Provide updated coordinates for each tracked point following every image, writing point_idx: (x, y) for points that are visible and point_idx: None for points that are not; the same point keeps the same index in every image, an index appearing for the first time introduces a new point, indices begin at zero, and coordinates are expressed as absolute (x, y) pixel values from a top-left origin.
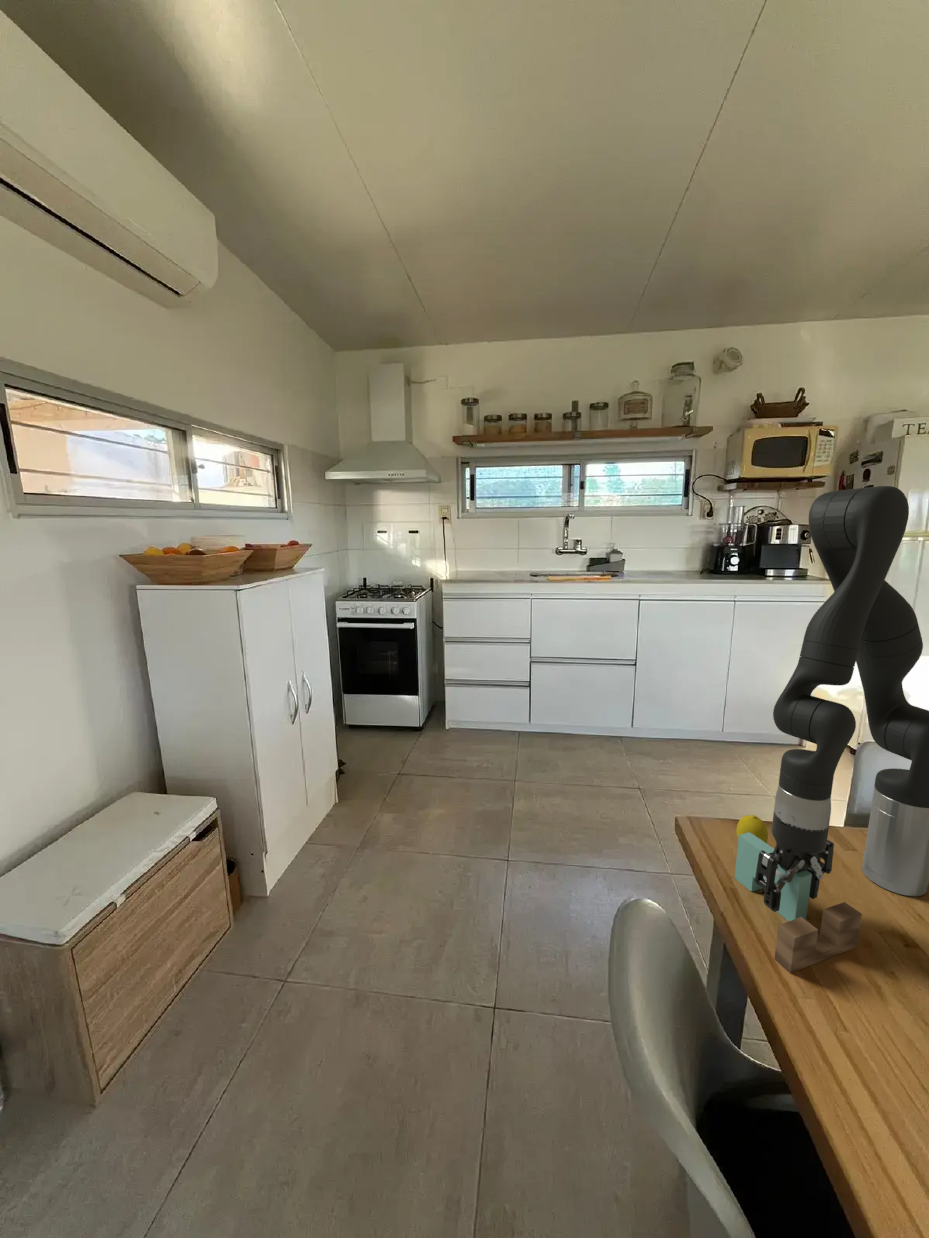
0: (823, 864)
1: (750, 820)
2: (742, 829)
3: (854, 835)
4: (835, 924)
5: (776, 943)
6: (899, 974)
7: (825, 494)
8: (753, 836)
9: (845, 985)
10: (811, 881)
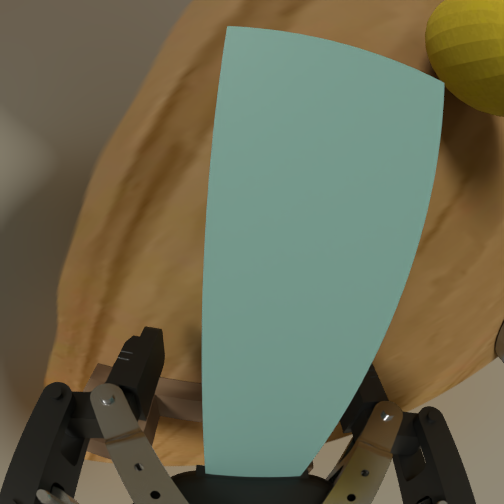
0: (412, 451)
1: None
2: (469, 13)
3: None
4: None
5: (83, 391)
6: None
7: None
8: (407, 164)
9: (180, 428)
10: (347, 409)
